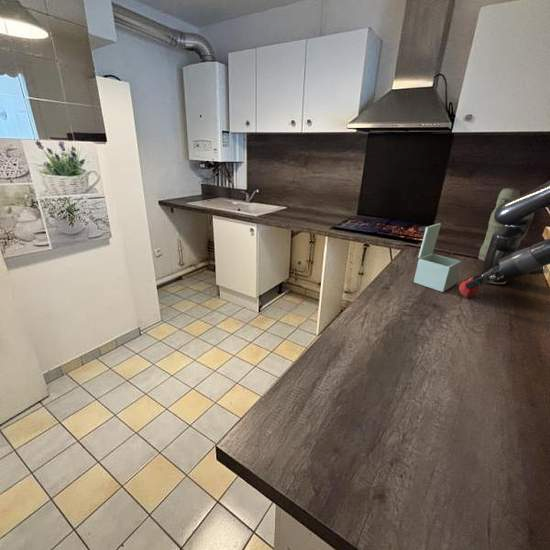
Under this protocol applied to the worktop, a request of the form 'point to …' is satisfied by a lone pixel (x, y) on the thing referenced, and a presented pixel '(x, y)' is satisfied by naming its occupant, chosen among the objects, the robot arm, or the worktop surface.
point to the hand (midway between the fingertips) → (471, 283)
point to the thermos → (493, 224)
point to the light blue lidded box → (437, 272)
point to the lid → (429, 239)
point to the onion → (465, 291)
